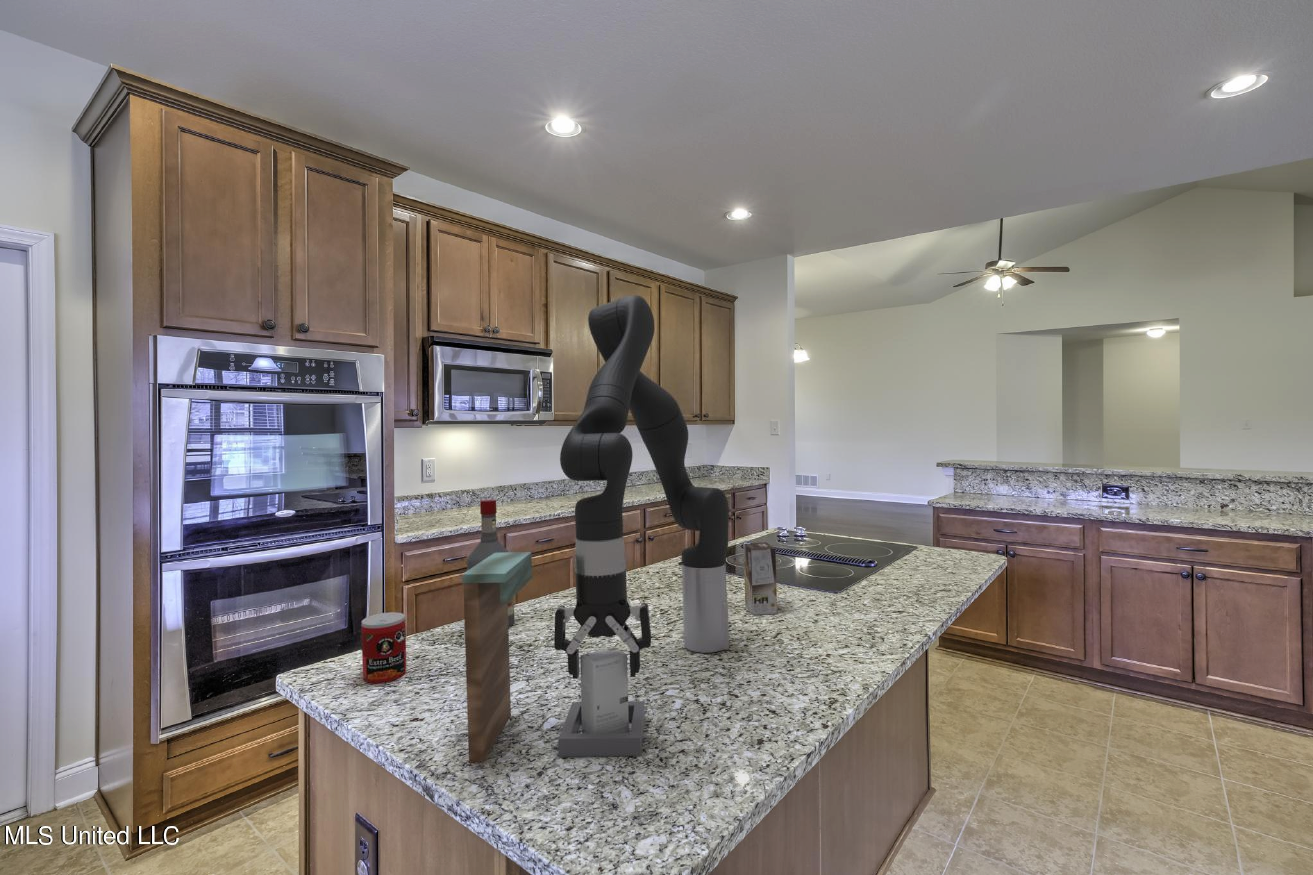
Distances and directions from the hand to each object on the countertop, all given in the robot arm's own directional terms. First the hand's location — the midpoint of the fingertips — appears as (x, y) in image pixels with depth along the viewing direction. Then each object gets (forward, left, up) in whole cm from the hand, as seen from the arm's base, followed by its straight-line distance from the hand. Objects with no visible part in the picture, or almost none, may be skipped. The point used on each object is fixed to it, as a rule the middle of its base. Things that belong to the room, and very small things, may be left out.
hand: (604, 675), depth 89 cm
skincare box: (0, 0, -9) cm, 9 cm away
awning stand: (+15, 0, -9) cm, 18 cm away
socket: (0, 0, -9) cm, 9 cm away
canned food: (+45, -24, -9) cm, 52 cm away
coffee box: (-32, -62, -9) cm, 70 cm away
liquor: (+33, -52, -9) cm, 62 cm away
